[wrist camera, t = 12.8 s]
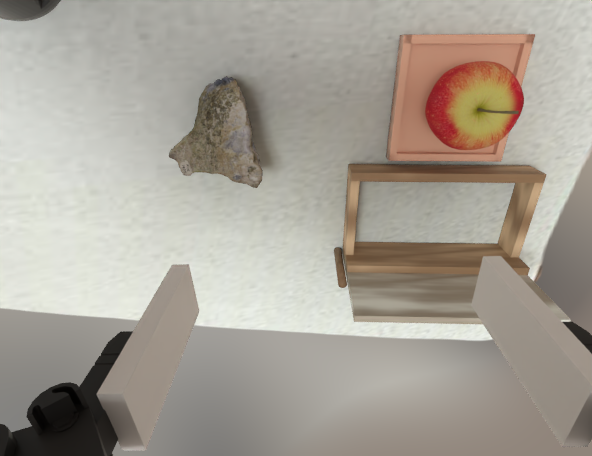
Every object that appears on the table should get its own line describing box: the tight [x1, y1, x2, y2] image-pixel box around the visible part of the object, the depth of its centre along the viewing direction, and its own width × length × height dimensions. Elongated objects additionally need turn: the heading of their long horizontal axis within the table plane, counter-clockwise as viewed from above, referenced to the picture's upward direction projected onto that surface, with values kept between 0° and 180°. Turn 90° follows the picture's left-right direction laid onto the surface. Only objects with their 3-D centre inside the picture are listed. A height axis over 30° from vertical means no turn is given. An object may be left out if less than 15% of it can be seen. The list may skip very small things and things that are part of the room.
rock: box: [169, 76, 262, 188], centre depth 39 cm, size 11×6×10 cm
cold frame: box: [334, 164, 571, 324], centre depth 40 cm, size 13×23×14 cm, turn 90°
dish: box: [386, 34, 535, 161], centre depth 39 cm, size 13×13×2 cm
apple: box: [425, 61, 524, 150], centre depth 34 cm, size 8×8×10 cm
